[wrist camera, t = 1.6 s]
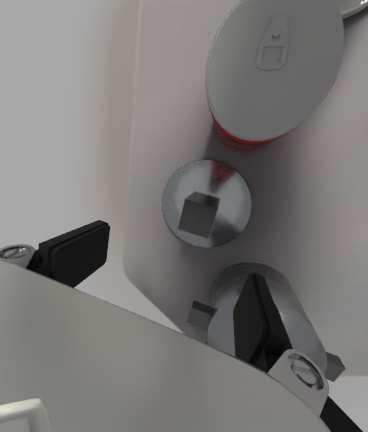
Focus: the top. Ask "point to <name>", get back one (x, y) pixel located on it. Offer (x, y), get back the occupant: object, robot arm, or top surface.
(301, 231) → the top surface
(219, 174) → the lid
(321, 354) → the pot
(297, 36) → the canned food
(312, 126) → the top surface
